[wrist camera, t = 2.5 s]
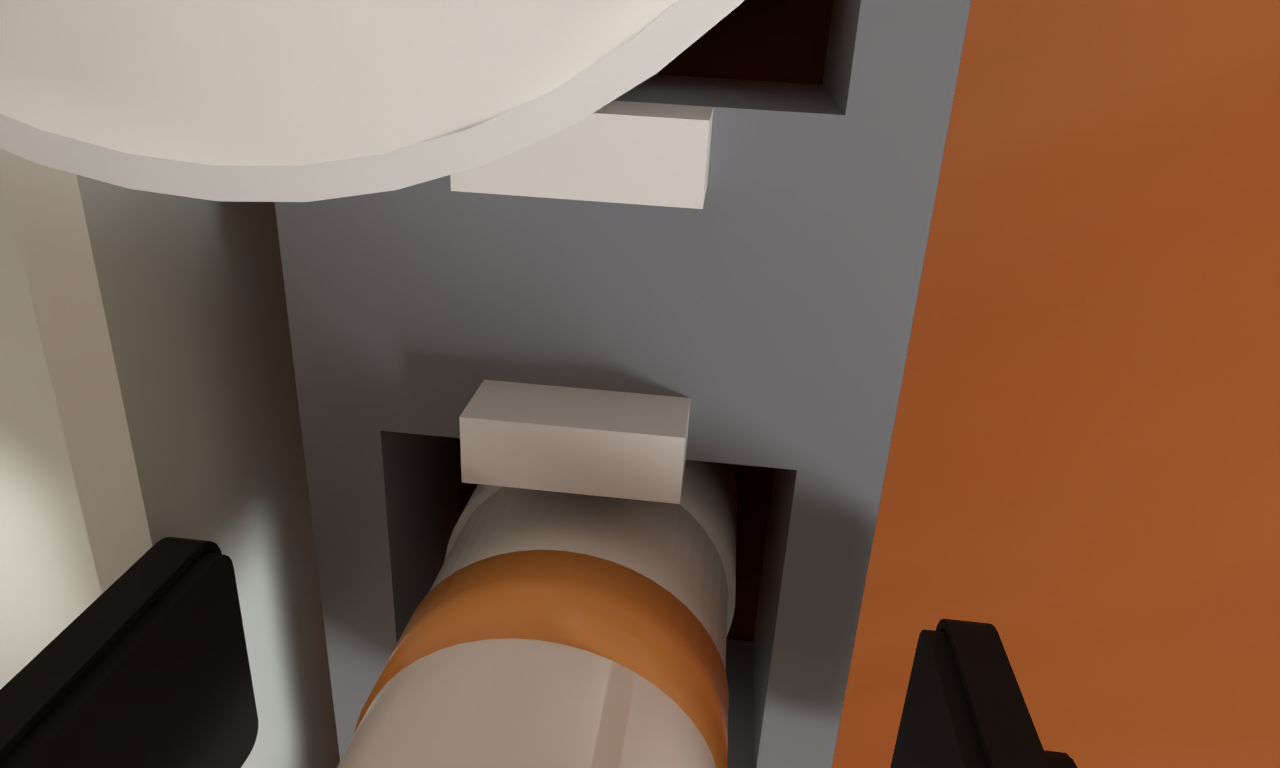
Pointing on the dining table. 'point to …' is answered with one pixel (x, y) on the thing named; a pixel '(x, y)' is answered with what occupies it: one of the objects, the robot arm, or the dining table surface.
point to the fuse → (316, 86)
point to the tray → (155, 426)
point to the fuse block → (636, 344)
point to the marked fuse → (567, 636)
